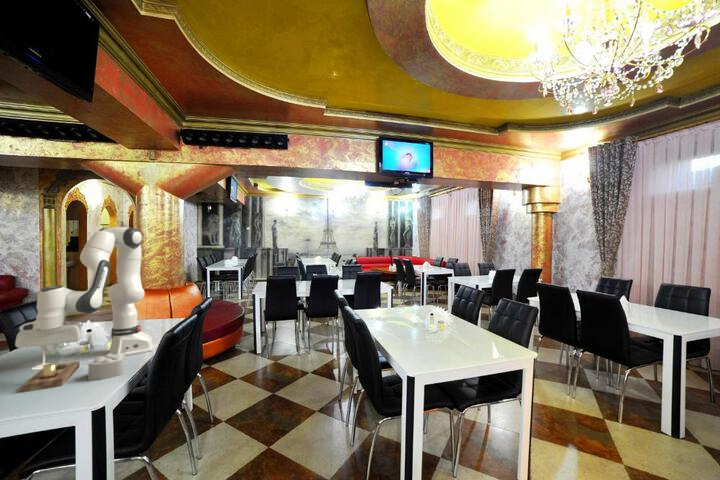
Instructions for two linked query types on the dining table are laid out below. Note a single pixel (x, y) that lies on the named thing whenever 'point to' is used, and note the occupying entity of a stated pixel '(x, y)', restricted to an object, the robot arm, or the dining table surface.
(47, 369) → the bushing
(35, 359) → the dining table surface
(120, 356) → the lumpy-topped squat cylinder
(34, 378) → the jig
